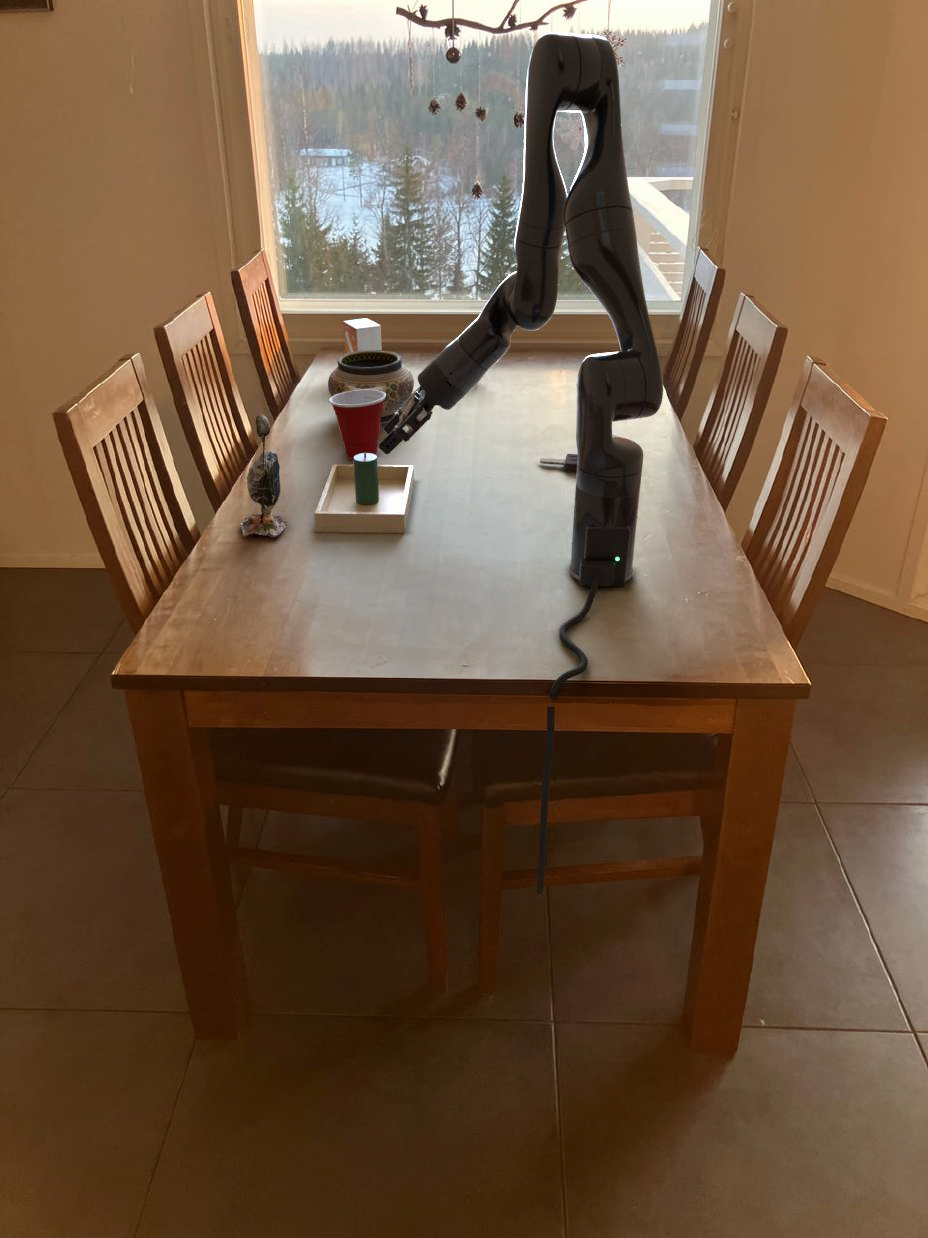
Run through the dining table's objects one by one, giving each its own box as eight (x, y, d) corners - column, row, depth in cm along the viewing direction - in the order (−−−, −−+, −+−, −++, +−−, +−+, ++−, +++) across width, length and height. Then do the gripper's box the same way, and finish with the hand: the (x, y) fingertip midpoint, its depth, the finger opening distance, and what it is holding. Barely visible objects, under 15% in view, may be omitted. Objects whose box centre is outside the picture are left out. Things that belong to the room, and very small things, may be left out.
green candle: (377, 505, 168) (375, 457, 163) (354, 505, 168) (351, 456, 163) (380, 496, 171) (378, 448, 167) (357, 496, 171) (354, 448, 167)
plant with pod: (299, 514, 167) (289, 399, 156) (276, 543, 157) (264, 422, 147) (254, 510, 168) (241, 396, 158) (228, 539, 158) (213, 419, 148)
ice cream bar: (538, 469, 184) (618, 475, 182) (538, 461, 183) (619, 466, 181) (541, 459, 189) (619, 464, 187) (541, 451, 188) (620, 456, 186)
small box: (346, 375, 236) (342, 320, 230) (370, 371, 239) (367, 317, 233) (359, 384, 230) (356, 328, 224) (383, 380, 233) (381, 324, 226)
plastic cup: (354, 441, 197) (351, 383, 191) (399, 451, 192) (397, 391, 186) (321, 458, 189) (316, 397, 183) (366, 469, 184) (363, 407, 178)
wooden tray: (404, 533, 160) (404, 514, 159) (315, 531, 161) (314, 513, 159) (414, 482, 179) (413, 465, 177) (334, 481, 179) (333, 464, 178)
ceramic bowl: (353, 411, 222) (332, 346, 215) (428, 393, 219) (410, 327, 211) (332, 449, 201) (308, 379, 194) (414, 431, 197) (393, 359, 190)
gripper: (438, 345, 162) (372, 412, 168) (434, 369, 150) (363, 440, 156) (470, 377, 165) (404, 442, 171) (468, 403, 153) (397, 472, 159)
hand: (384, 441), depth 163 cm, fingers open, 8 cm apart
